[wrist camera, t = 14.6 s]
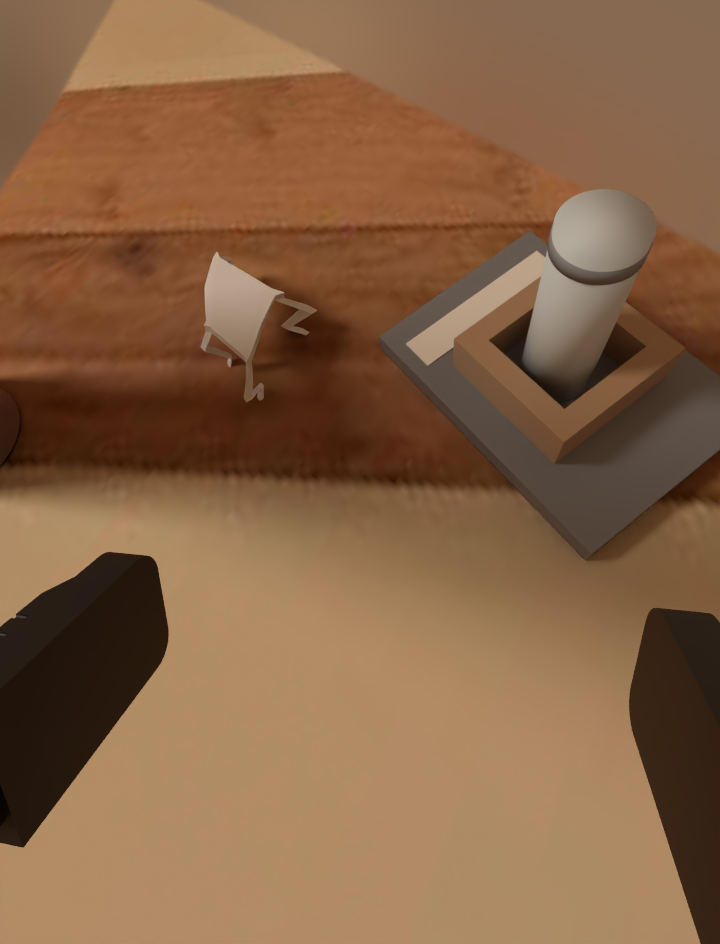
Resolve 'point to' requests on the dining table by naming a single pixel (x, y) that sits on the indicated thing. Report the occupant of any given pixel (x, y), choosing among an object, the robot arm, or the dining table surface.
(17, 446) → the dining table surface
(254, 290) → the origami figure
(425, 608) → the dining table surface
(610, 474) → the assembly jig
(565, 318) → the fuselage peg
